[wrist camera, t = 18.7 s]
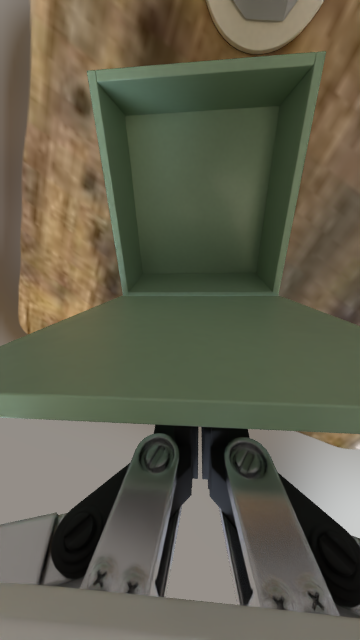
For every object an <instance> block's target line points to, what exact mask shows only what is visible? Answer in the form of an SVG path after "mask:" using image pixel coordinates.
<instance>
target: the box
mask: <svg viewBox="0 0 360 640" xmlns="http://www.w3.org/2000/svg"><path fill="white" fill-rule="evenodd" d="M325 55H326V51H322V52H310V53H297V54H285V55H273V56H261V57H249V58H236V59H224V60H212V61H200V62H188V63H175V64H163V65H151V66H139V67H127V68H115V69H102V70H96V71H95V70H90V71H87V76H88V82H89V88H90V94H91V100H92V106H93V113H94V119H95V125H96V131H97V137H98V143H99V149H100V156H101V162H102V168H103V174H104V180H105V186H106V193H107V199H108V205H109V211H110V217H111V223H112V230H113V236H114V242H115V248H116V254H117V260H118V267H119V273H120V279H121V285H122V291H123V296H278V293H279V288H280V283H281V278H282V273H283V268H284V263H285V258H286V253H287V248H288V243H289V238H290V233H291V228H292V222H293V217H294V212H295V207H296V202H297V197H298V192H299V187H300V182H301V177H302V172H303V167H304V162H305V156H306V151H307V146H308V141H309V136H310V131H311V126H312V121H313V116H314V111H315V106H316V101H317V96H318V91H319V85H320V80H321V75H322V70H323V65H324V60H325Z"/></svg>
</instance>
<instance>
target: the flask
mask: <svg viewBox="0 0 360 640" xmlns="http://www.w3.org/2000/svg"><path fill="white" fill-rule="evenodd" d="M233 1H234V3H235V4H236V5H237V7H238V8H239V10H240V11H241V13H242V14H243V15H244V17H245V18H246V19H257V20H276V21H283V20H284V19H285V18H286V16H287V15H288V13H289V12H290V10H291V9H292V8H293V6H294V5H295V3H296V2H297V1H298V0H233Z"/></svg>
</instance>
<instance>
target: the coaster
mask: <svg viewBox="0 0 360 640" xmlns="http://www.w3.org/2000/svg"><path fill="white" fill-rule="evenodd" d="M323 2H324V0H298V1H297V2H296V3H295V5H294V6H293V8H292V9H291V10H290V12H289V13H288V15H287V16H286V18H285V19H284V20H283V21H276V20H257V19H246V18H245V17H244V15H243V14H242V13H241V11H240V10H239V8H238V7H237V5H236V4H235V3H234V1H233V0H206V3H207V6H208V9H209V12H210V15H211V17H212V20H213V22H214V24H215V26H216V27H217V29H218V31H219V32H220V34H221V35H222V36H223V37H224V39H225V40H226V41H227V42H228V43H229V44H231V45H232V46H233V47H235V48H236V49H238V50H240V51H243V52H245V53H250V54H265V53H270V52H272V51H275V50H278V49H280V48H281V47H283V46H285V45H287V44H288V43H289V42H291V41H292V40H293V39H294V38H296V37H297V36H298V35H299V34H300V33H301V32H302V31H303V30H304V29H305V27H306V26H307V25H308V24H309V23H310V21H311V20H312V19H313V17H314V16H315V15H316V13H317V11H318V10H319V8H320V7H321V5H322V3H323Z"/></svg>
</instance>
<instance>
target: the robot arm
mask: <svg viewBox="0 0 360 640" xmlns="http://www.w3.org/2000/svg"><path fill="white" fill-rule="evenodd" d="M192 478H195V479H197V478H198V426H177V425H155V430H154V434H152V435H150V436H148V437H146V438H144V439H143V440H142V441H141V442H140V443H139V445H138V446H137V448H136V450H135V453H134V455H133V458H132V460H131V463H129V464H128V465H127V466H126V467H124V468H123V469H122V470H120V471H119V472H118V473H117V474H115V475H114V476H113V477H112V478H110V479H109V480H108V481H107V482H105V483H104V484H103V485H102V486H100V487H99V488H98V489H97V490H95V491H94V492H93V493H91V494H90V495H89V496H88V497H86V498H85V499H84V500H83V501H81V502H80V503H79V504H78V505H76V506H75V507H74V508H72V509H71V511H70V512H68V513H66V514H61V515H58V514H57V513H52V514H47V515H43V516H38V517H34V518H29V519H24V520H20V521H15V522H11V523H6V524H1V525H0V640H360V538H357V537H354V536H351V535H350V534H349V533H348V532H347V531H346V530H345V529H344V528H343V527H341V526H340V525H339V524H338V523H337V522H335V521H334V520H333V519H332V518H331V517H330V516H328V515H327V514H326V513H325V512H324V511H322V510H321V509H320V508H319V507H318V506H317V505H315V504H314V503H313V502H312V501H311V500H310V499H308V498H307V497H306V496H305V495H303V494H302V493H301V492H300V491H299V490H298V489H296V488H295V487H294V486H293V485H292V484H291V483H289V482H288V481H287V480H286V479H285V478H283V477H282V476H281V475H280V474H279V473H278V472H277V470H276V468H275V466H274V464H273V461H272V459H271V457H270V455H269V453H268V452H267V450H266V449H265V448H264V447H263V446H262V445H261V444H260V443H258V442H257V441H255V440H253V439H250V438H249V433H248V429H242V428H220V427H202V478H203V479H208V489H210V497H211V498H212V499H213V501H214V502H215V503H216V504H217V505H218V506H219V512H220V517H221V522H222V527H223V533H224V538H225V543H226V549H227V554H228V559H229V564H230V570H231V575H232V580H233V585H234V591H235V595H236V601H237V605H232V604H222V603H213V602H203V601H194V600H184V599H175V598H166V595H167V589H168V584H169V577H170V572H171V566H172V561H173V554H174V549H175V544H176V538H177V532H178V526H179V521H180V515H181V509H182V504H183V503H184V502H185V501H186V500H187V499H188V498H189V497H190V496H191V488H192Z"/></svg>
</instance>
